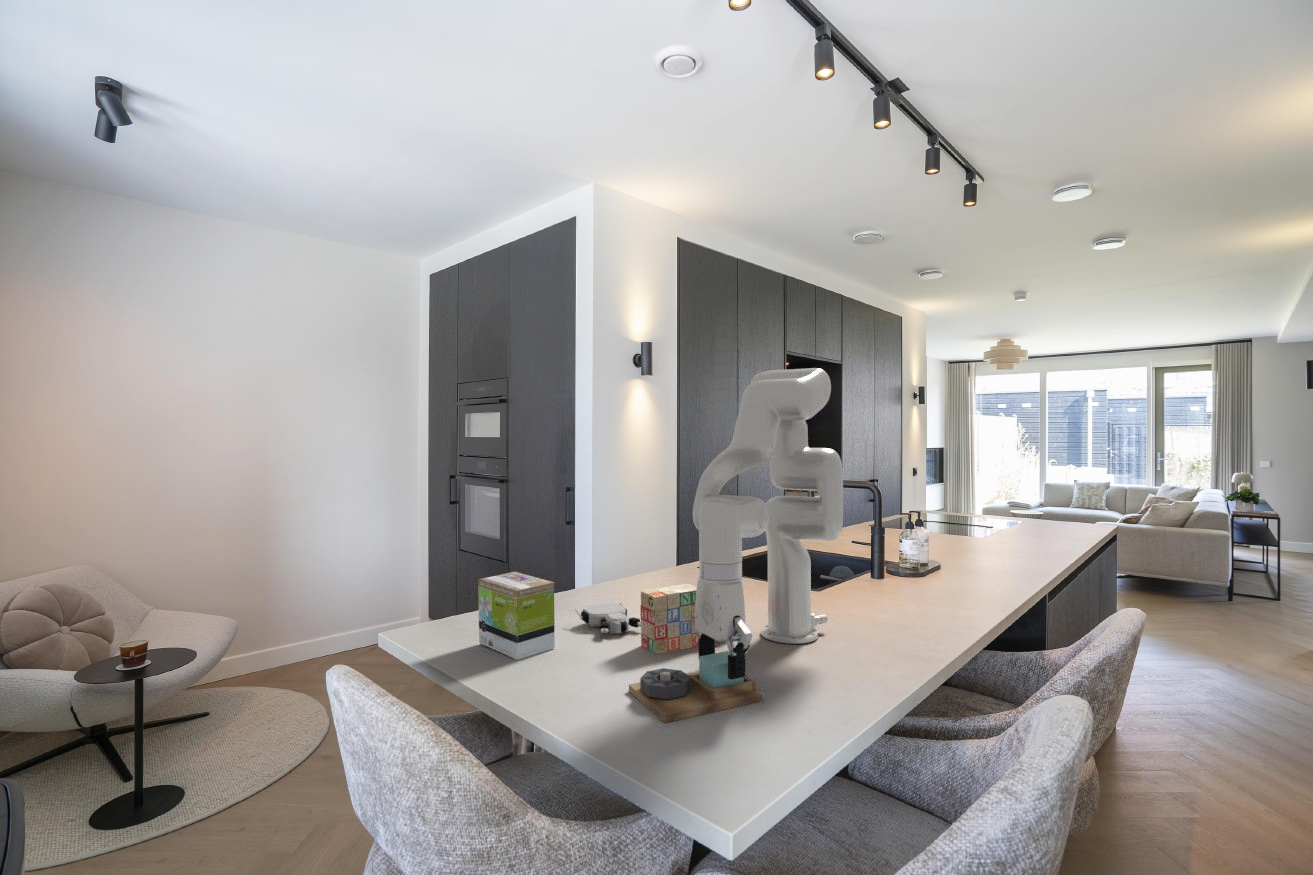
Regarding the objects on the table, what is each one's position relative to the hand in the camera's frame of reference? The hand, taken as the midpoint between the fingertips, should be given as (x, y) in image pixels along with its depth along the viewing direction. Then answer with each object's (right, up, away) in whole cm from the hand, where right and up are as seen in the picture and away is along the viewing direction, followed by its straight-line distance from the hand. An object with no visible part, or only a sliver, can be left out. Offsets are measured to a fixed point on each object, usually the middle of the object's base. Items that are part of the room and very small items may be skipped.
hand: (721, 668), depth 111 cm
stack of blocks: (-4, -5, +28) cm, 29 cm away
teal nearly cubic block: (0, -3, 0) cm, 3 cm away
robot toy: (-22, -5, +39) cm, 45 cm away
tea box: (-42, -5, +26) cm, 49 cm away
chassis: (-5, -5, -1) cm, 7 cm away
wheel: (-10, -3, -2) cm, 10 cm away
